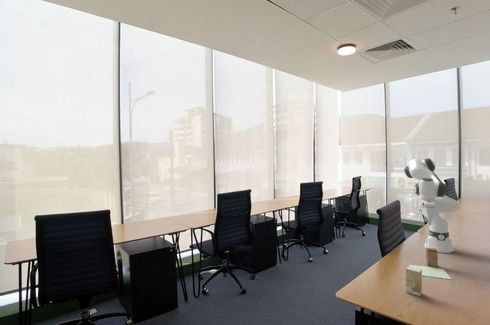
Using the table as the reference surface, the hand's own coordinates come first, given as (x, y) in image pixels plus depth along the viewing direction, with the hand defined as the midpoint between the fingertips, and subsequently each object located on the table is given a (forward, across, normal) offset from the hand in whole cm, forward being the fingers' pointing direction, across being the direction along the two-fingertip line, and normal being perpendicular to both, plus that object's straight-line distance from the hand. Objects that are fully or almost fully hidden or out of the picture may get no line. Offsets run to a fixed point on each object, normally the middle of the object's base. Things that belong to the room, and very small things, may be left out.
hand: (428, 223), depth 173 cm
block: (+26, +8, 0) cm, 27 cm away
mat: (+26, +19, -4) cm, 32 cm away
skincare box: (+26, +52, -17) cm, 61 cm away
